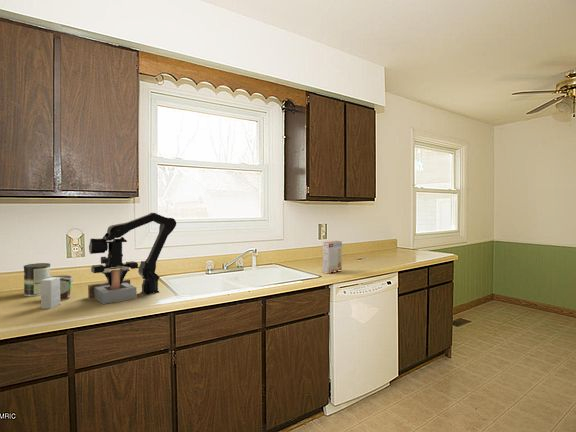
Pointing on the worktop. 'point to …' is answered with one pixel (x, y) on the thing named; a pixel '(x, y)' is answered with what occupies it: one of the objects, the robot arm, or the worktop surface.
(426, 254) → the worktop surface
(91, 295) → the walnut wall
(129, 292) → the socket block
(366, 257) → the worktop surface
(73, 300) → the worktop surface
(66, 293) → the food container
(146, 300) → the worktop surface
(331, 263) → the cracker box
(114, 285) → the dowel
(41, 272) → the coffee can
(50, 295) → the skincare box
